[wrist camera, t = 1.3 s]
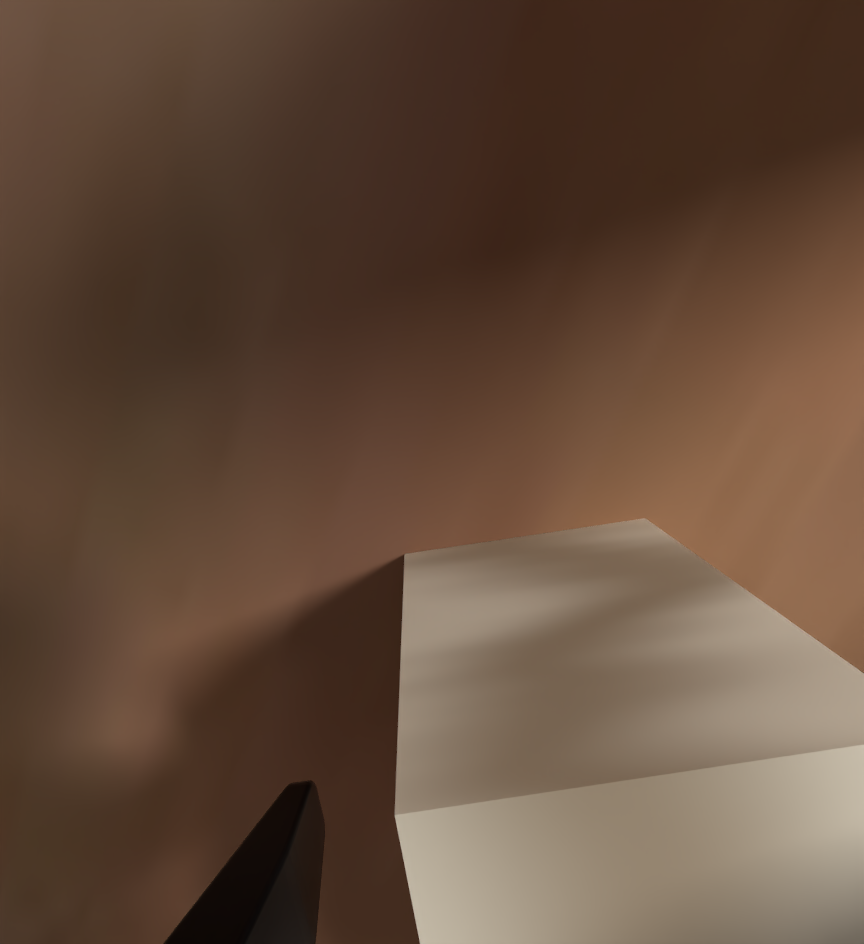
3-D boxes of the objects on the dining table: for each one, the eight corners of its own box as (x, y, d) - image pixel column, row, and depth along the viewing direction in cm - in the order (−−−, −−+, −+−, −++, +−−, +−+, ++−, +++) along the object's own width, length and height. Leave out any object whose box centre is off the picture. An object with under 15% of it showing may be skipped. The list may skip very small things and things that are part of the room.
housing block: (643, 517, 10) (946, 733, 4) (654, 757, 12) (894, 1159, 6) (404, 552, 10) (394, 815, 4) (443, 789, 12) (475, 1223, 6)
